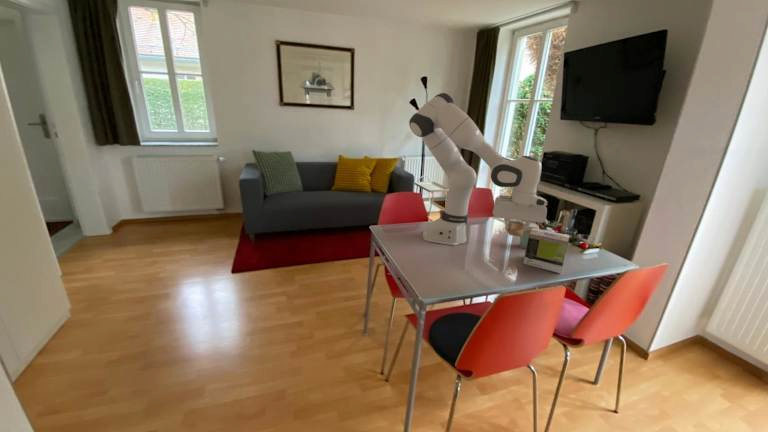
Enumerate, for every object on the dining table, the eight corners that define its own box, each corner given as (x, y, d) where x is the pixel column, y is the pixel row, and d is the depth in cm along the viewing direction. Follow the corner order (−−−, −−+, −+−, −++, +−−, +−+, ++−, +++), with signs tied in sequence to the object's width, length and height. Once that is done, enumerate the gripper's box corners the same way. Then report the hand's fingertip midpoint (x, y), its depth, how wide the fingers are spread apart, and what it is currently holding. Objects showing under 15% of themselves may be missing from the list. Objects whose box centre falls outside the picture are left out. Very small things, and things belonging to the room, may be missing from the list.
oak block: (509, 235, 130) (512, 223, 129) (506, 230, 135) (509, 219, 133) (522, 236, 130) (525, 225, 128) (518, 232, 134) (521, 221, 133)
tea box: (562, 265, 141) (570, 234, 136) (560, 274, 133) (568, 242, 128) (526, 256, 149) (532, 226, 144) (522, 264, 140) (529, 233, 136)
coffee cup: (520, 242, 165) (525, 220, 161) (537, 247, 159) (542, 225, 155) (513, 246, 159) (518, 223, 155) (530, 252, 153) (536, 228, 149)
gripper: (497, 196, 125) (491, 229, 130) (551, 202, 123) (543, 235, 128) (494, 192, 131) (488, 224, 136) (546, 198, 129) (537, 229, 134)
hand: (515, 229), depth 132 cm, fingers closed on oak block, 5 cm apart
